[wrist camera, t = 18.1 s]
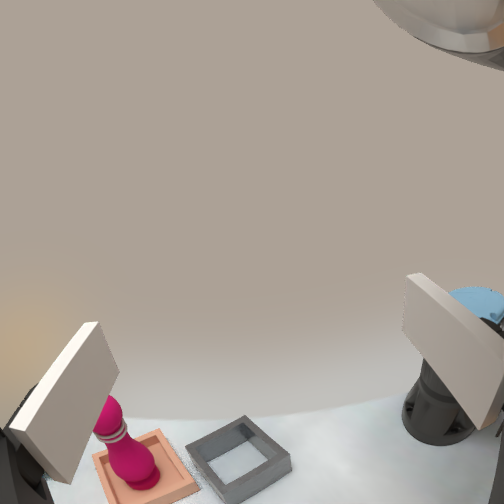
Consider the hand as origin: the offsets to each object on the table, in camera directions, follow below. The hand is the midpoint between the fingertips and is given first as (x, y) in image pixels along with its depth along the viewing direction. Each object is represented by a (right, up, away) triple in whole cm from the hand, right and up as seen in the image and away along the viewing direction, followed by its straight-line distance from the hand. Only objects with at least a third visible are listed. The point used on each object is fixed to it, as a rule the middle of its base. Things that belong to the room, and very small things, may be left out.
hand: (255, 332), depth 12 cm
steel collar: (-2, -31, +28) cm, 42 cm away
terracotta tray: (-18, -34, +27) cm, 46 cm away
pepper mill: (-18, -33, +26) cm, 46 cm away
